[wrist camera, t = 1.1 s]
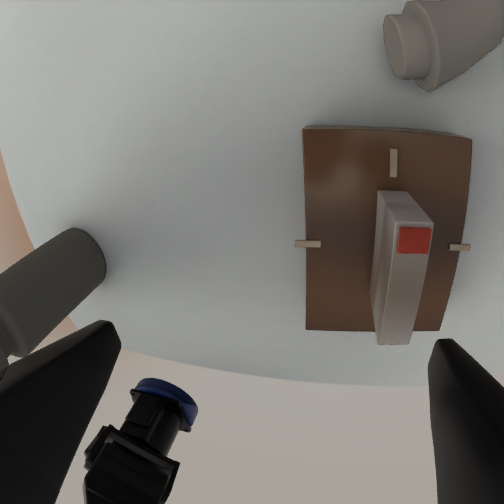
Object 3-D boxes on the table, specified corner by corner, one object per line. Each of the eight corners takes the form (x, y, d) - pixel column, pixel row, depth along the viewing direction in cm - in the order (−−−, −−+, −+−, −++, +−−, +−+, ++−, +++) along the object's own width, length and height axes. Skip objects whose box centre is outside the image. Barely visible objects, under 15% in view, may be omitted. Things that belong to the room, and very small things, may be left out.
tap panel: (436, 304, 20) (447, 332, 17) (300, 302, 22) (295, 331, 19) (460, 134, 15) (483, 140, 12) (294, 126, 17) (288, 129, 14)
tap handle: (395, 292, 17) (409, 348, 13) (369, 292, 17) (377, 348, 13) (407, 191, 14) (436, 224, 10) (377, 189, 15) (396, 223, 10)
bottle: (100, 230, 23) (-42, 342, 10) (112, 291, 26) (3, 410, 13) (54, 225, 24) (-72, 313, 11) (67, 280, 27) (-36, 377, 14)
